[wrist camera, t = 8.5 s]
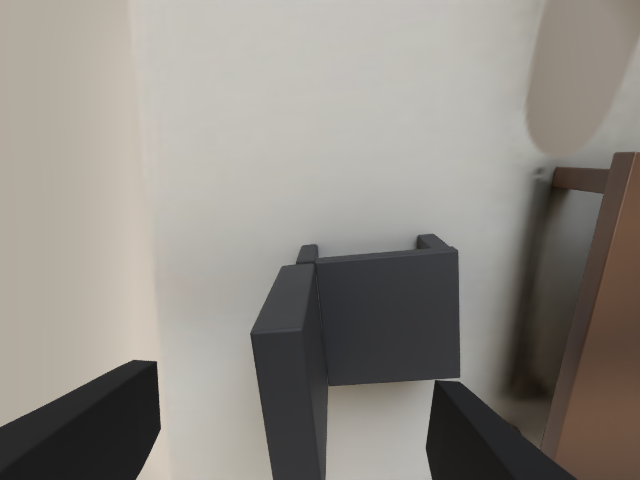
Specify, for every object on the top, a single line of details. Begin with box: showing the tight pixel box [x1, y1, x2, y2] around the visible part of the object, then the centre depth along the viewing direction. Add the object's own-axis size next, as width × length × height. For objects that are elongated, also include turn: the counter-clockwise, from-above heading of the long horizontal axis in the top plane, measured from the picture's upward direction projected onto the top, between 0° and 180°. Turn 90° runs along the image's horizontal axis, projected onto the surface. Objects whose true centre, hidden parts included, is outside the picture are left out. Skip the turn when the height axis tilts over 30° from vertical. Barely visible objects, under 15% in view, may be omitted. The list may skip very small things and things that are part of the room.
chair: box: [250, 234, 460, 480], centre depth 12 cm, size 5×6×8 cm
